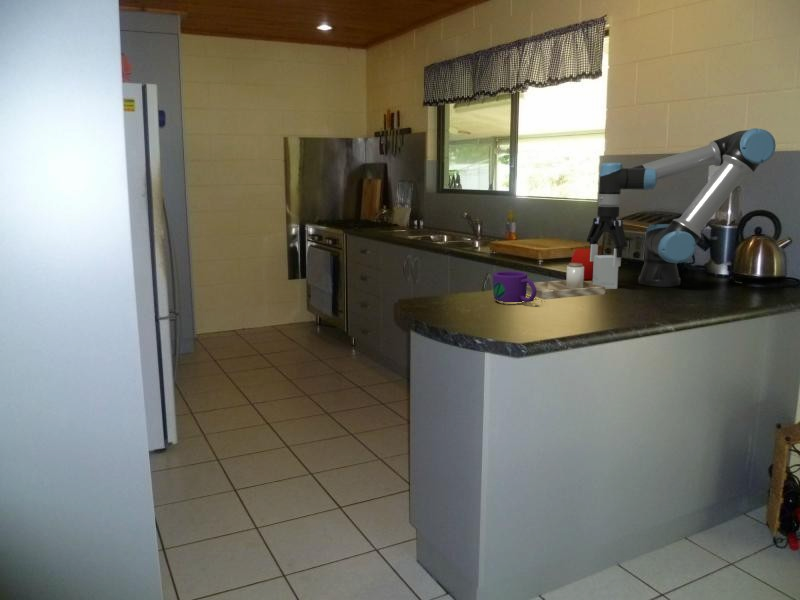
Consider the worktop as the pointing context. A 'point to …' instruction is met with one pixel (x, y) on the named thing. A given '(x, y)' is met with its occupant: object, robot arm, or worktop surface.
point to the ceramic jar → (575, 275)
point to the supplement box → (605, 271)
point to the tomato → (584, 261)
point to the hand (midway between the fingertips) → (604, 263)
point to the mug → (512, 286)
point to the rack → (563, 290)
